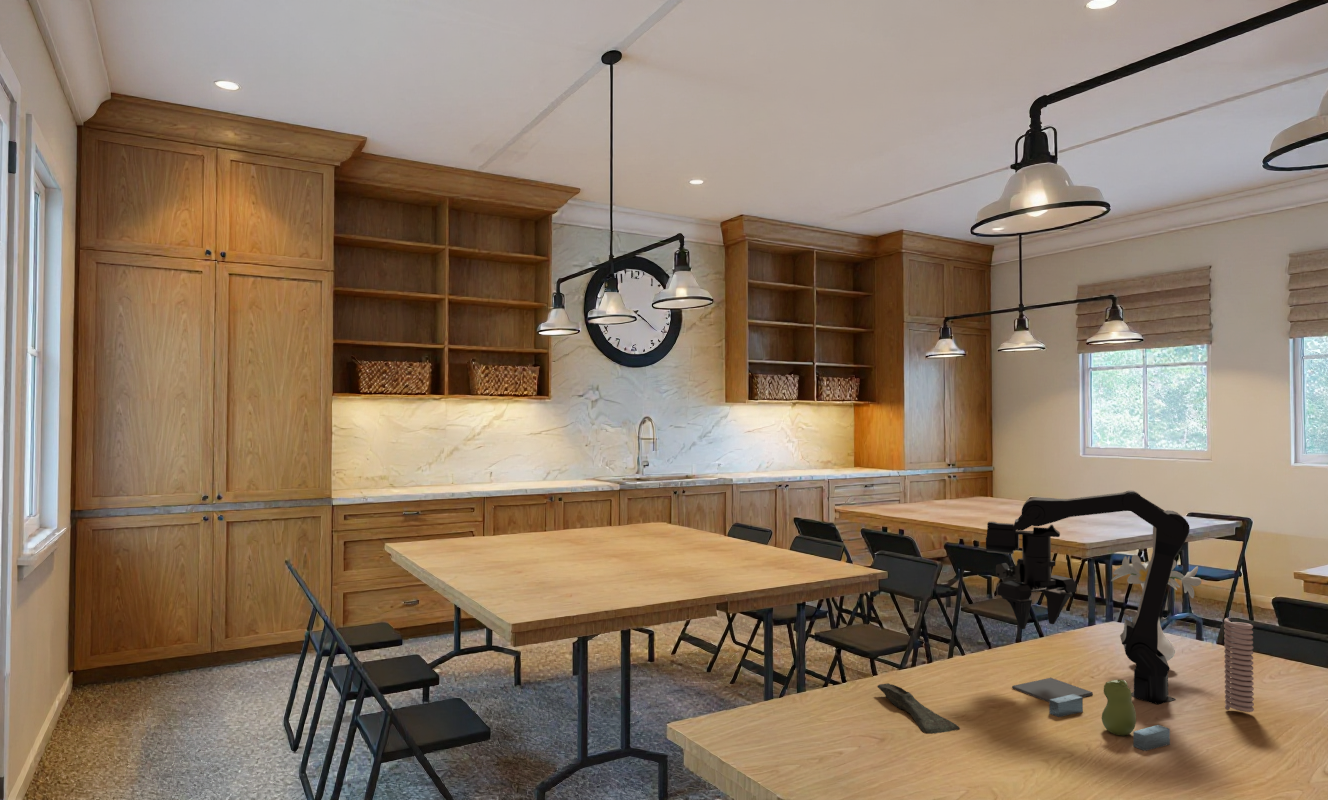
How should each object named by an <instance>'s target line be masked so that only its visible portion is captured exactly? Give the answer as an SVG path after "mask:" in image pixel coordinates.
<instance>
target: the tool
mask: <svg viewBox="0 0 1328 800" xmlns="http://www.w3.org/2000/svg"><path fill="white" fill-rule="evenodd" d="M876 687H877V688H878V689H879V690H880V691H881V693H883V694H884V695H885V698H886V699H888V700H889V701H890V702H891V703H892V704H893V705H894V706H895V707H896V708H898V709H899V710H904V711H906V712H907V713H908V714H909V715H910V716H911V717H912V719H913V720H914V721H915V723H916V724H917V726H918V728H919V729H920V730H921V731H922V732H923V733H924V734H929V735H930V734H931V735H932V734H940V733H947V732H948V733H949V732H954V731H957V730H960V726H959V725H957V724H956V723H955V722H953V721H951V720H949V719H947V718H944V717H943V716H941V715H939V714H937V713H936V712H934V711H932V710H931V709H929V708H928V707H926V706H924V705H923V704H921V702H919V701H918V700H917V699H916V698H915V697H914V696H913V694H912V693H911V692H910V691H906V690H905V689H904V688H902V687H899V686H898V685H895V684H892V683H881V684H878V685H877V686H876Z"/></svg>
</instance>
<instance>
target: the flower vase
mask: <svg viewBox="0 0 1328 800" xmlns="http://www.w3.org/2000/svg"><path fill="white" fill-rule="evenodd" d="M1150 561H1151V560H1149V561H1146V562H1145V561H1144V563H1143V562H1142V560H1141V558H1140V556H1139V555H1137V554H1134V555H1132V557H1131V563H1130V556H1128V557H1127V556H1126V555H1125V556H1123V559H1122V563H1121V565H1120V566H1119V567H1118V568H1116V569H1114V571H1113V573H1112V574H1113V575H1114V577H1113V578H1111V580H1110V582H1113V581H1115V580H1117V579H1119V578H1121V577H1124V576H1127V575H1129V576H1128V577H1127V583H1128V584H1134V585H1139V584H1140V586H1141V588H1142V591H1143V588H1144V584H1145V580H1146V576H1147V572H1148V568H1149V565H1150ZM1176 567H1177V561H1176V559H1174V562H1173V566H1172V570H1171V574H1170V577H1169V581H1168V585H1169V586H1170V587H1171V588H1173V589H1174V590H1176V591H1178V588H1181V585H1179V583H1178V581H1177V580H1179V581H1181V582H1182V586H1183V592H1184V594H1187V593H1188V594H1189V596H1190V598H1191V599H1194V598H1195V590H1194V587H1198V586H1200V585H1201V584H1202V579H1201V578H1200V577H1195V576H1196V575H1197V573H1198V570H1199V566H1198V565H1197V566H1195V567H1194V568H1193V569H1192V570H1191V571H1187V572H1186V574H1185V575H1184V574H1182V573H1181V572H1179V571H1177V570H1174V569H1175V568H1176ZM1157 649H1158V650H1159V651H1160V652H1161V653H1162V654H1163V655H1164V656H1165V658H1166V660H1167V662H1168V661H1171V660H1172V659H1173V658H1174V657H1175V654H1176V649H1175V646H1174V645H1173V643H1172V642H1171V640H1170V639H1169V638H1167V636H1166V635H1165V633H1164V631H1163V629H1162V627H1161V622H1160V619H1159V620H1158V647H1157Z"/></svg>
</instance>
